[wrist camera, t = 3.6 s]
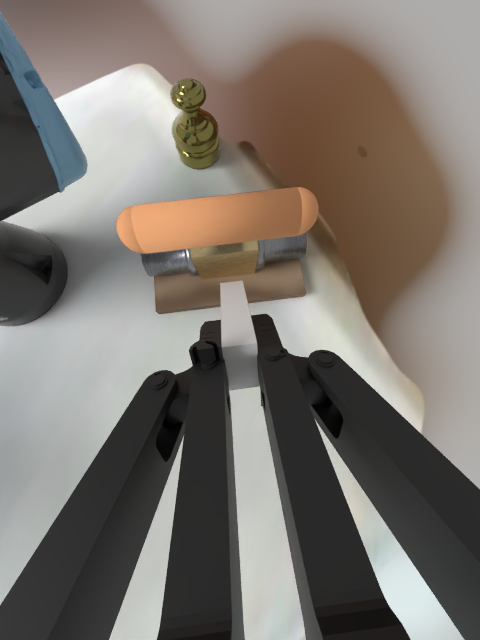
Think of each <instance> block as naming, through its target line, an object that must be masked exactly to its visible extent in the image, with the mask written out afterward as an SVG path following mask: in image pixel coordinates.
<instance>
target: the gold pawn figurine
mask: <svg viewBox="0 0 480 640" xmlns="http://www.w3.org/2000/svg"><path fill="white" fill-rule="evenodd" d="M170 96H171V100H172V102H173V104H174V105H175V106H176V107H177V108H179V109H181V110H182V111H181V113H180V114H179V115H178V116H177V117H176V118H175V120H174V121H173V124H172V135H173V138H174V140H175V144H176V148H177V150H178V154H179V157H180V159H181V161H182V162H183V163H184V164H185V165H187V166H189V167H191V168H196V169H201V168H206V167H208V166H210V165H212V164H213V163H214V162H215V161H216V160H217V159H218V157H219V154H220V145H219V142H220V140H219V135H218V123H217V121H216V119H215V117H214V116H213V115H211V113H209V112H208V111H205V110H203V109H202V108H200V106H202V104H203V103H204V102H205V100H206V90H205V87H204V86H203V84H202V83H201V82H199V81H197V80H195V79H189V78H186V79H182V80H180V81H178V82H177V83H175V84H174V85H173V87H172V88H171V91H170Z"/></svg>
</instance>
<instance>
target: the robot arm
mask: <svg viewBox="0 0 480 640" xmlns="http://www.w3.org/2000/svg"><path fill="white" fill-rule="evenodd" d="M86 171H87V159H86V156H85V154H84V152H83V150H82V148H81V147H80V145H79V143H78V141H77V139H76V138H75V136H74V134H73V132H72V131H71V129H70V127H69V125H68V124H67V122H66V120H65V118H64V117H63V115H62V113H61V111H60V110H59V108H58V106H57V105H56V103H55V101H54V100H53V98H52V96H51V95H50V93H49V91H48V90H47V88H46V87H45V85H44V84H43V82H42V80H41V78H40V76H39V74H38V73H37V71H36V70H35V68H34V66H33V65H32V63H31V61H30V59H29V57H28V56H27V54H26V52H25V50H24V49H23V47H22V45H21V44H20V42H19V40H18V39H17V37H16V36H15V34H14V32H13V30H12V29H11V27H10V26H9V24H8V22H7V21H6V19H5V18H4V16H3V14H2V13H1V11H0V326H16V325H21V324H25V323H28V322H30V321H33V320H35V319H36V318H38V317H40V316H41V315H43V314H44V313H45V312H47V311H48V310H49V309H50V308H51V307H52V306H53V305H54V304H55V302H56V301H57V300H58V298H59V297H60V295H61V293H62V291H63V289H64V286H65V283H66V278H67V265H66V261H65V258H64V255H63V253H62V252H61V250H60V249H59V248H58V247H57V246H56V245H55V244H54V243H53V242H52V241H50V240H48V239H47V238H45V237H44V236H42V235H41V234H39V233H37V232H35V231H33V230H30V229H27V228H24V227H21V226H17V225H14V224H11V223H7V222H4V221H2V220H4V219H6V218H8V217H10V216H12V215H14V214H16V213H18V212H20V211H22V210H24V209H26V208H28V207H30V206H32V205H34V204H36V203H38V202H40V201H42V200H44V199H45V198H47V197H49V196H51V195H53V194H55V193H57V192H60V193H61V192H63V191H64V189H65V187H67V186H68V185H70V184H72V183H73V182H75V181H77V180H78V179H80V178H82V177H83V176H84V175H85V173H86ZM220 296H221V320H216V321H207V322H205V323H204V324H203V325H202V327H201V330H200V340H199V341H198V342H196V343H194V344H193V345H192V346H191V347H190V349H189V353H190V357H191V360H192V364H193V366H192V367H191V368H190V369H188V370H186V371H184V372H182V373H179V374H176V375H175V374H174V373H172V372H171V371H168V370H162V371H158V372H155V373H153V374H152V375H150V376H149V377H148V378H147V379H146V380H145V381H144V382H143V384H142V386H141V387H140V389H139V390H138V392H137V393H136V395H135V396H134V398H133V400H132V401H131V403H130V404H129V406H128V407H127V409H126V410H125V412H124V414H123V415H122V417H121V418H120V420H119V421H118V423H117V424H116V426H115V428H114V429H113V431H112V432H111V434H110V435H109V437H108V439H107V440H106V442H105V443H104V445H103V446H102V448H101V449H100V451H99V453H98V454H97V456H96V457H95V459H94V460H93V462H92V463H91V465H90V467H89V468H88V470H87V471H86V473H85V474H84V476H83V477H82V479H81V481H80V482H79V484H78V485H77V487H76V488H75V490H74V492H73V493H72V495H71V496H70V498H69V499H68V501H67V502H66V504H65V506H64V507H63V509H62V510H61V512H60V513H59V515H58V516H57V518H56V520H55V521H54V523H53V524H52V526H51V527H50V529H49V531H48V532H47V534H46V535H45V537H44V538H43V540H42V541H41V543H40V545H39V546H38V548H37V549H36V551H35V552H34V554H33V555H32V557H31V559H30V560H29V562H28V563H27V565H26V566H25V568H24V569H23V571H22V573H21V574H20V576H19V577H18V579H17V580H16V582H15V584H14V585H13V587H12V588H11V590H10V591H9V593H8V594H7V596H6V598H5V599H4V601H3V602H2V604H1V605H0V640H109V638H110V635H111V632H112V630H113V627H114V624H115V621H116V619H117V616H118V613H119V611H120V608H121V605H122V602H123V600H124V597H125V594H126V591H127V589H128V586H129V583H130V580H131V578H132V575H133V572H134V570H135V567H136V564H137V561H138V559H139V556H140V553H141V550H142V548H143V545H144V542H145V539H146V537H147V534H148V531H149V529H150V526H151V523H152V520H153V518H154V515H155V512H156V509H157V507H158V504H159V501H160V498H161V496H162V493H163V490H164V488H165V485H166V482H167V479H168V477H169V474H170V471H171V468H172V466H173V463H174V460H175V458H176V455H177V452H178V449H179V447H180V444H181V441H182V438H183V436H184V441H183V449H182V457H181V464H180V472H179V480H178V488H177V496H176V504H175V512H174V520H173V528H172V536H171V544H170V552H169V560H168V568H167V576H166V584H165V592H164V600H163V607H162V615H161V622H160V629H159V633H158V637H157V640H245V638H244V625H243V609H242V592H241V574H240V557H239V540H238V523H237V506H236V489H235V471H234V454H233V437H232V420H231V403H230V395H229V390H235V389H243V388H251V387H259V386H260V388H261V406H263V409H264V415H265V420H266V425H267V431H268V436H269V441H270V446H271V452H272V457H273V462H274V467H275V473H276V478H277V483H278V488H279V494H280V499H281V504H282V510H283V515H284V520H285V525H286V531H287V536H288V541H289V546H290V552H291V557H292V562H293V568H294V573H295V578H296V583H297V589H298V594H299V599H300V604H301V610H302V615H303V621H304V627H305V635H306V640H410V638H409V636H408V634H407V632H406V630H405V629H404V627H403V625H402V623H401V622H400V621H399V619H398V618H397V617H396V615H395V614H394V613H393V611H392V610H391V608H390V607H389V605H388V603H387V601H386V600H385V598H384V595H383V593H382V591H381V588H380V586H379V583H378V581H377V578H376V576H375V573H374V571H373V568H372V565H371V563H370V560H369V558H368V555H367V553H366V550H365V547H364V545H363V542H362V540H361V537H360V535H359V532H358V529H357V527H356V524H355V522H354V519H353V517H352V514H351V512H350V509H349V506H348V504H347V501H346V499H345V496H344V494H343V491H342V488H341V486H340V483H339V481H338V478H337V476H336V473H335V470H334V468H333V465H332V463H331V460H330V458H329V455H328V452H327V450H326V447H325V445H324V442H323V440H322V437H321V435H320V432H319V429H318V427H317V424H316V422H315V420H316V421H317V423H318V424H319V426H320V427H321V429H322V430H323V432H324V433H325V435H326V436H327V437H328V439H329V440H330V442H331V443H332V445H333V446H334V448H335V449H336V451H337V452H338V454H339V455H340V457H341V458H342V460H343V461H344V463H345V464H346V465H347V467H348V468H349V470H350V471H351V473H352V474H353V476H354V477H355V479H356V480H357V482H358V483H359V485H360V486H361V488H362V489H363V491H364V492H365V493H366V495H367V496H368V498H369V499H370V501H371V502H372V504H373V505H374V507H375V508H376V510H377V511H378V513H379V514H380V516H381V517H382V519H383V520H384V521H385V523H386V524H387V526H388V527H389V529H390V530H391V532H392V533H393V535H394V536H395V538H396V539H397V541H398V542H399V544H400V545H401V547H402V548H403V549H404V551H405V552H406V554H407V555H408V557H409V558H410V560H411V561H412V563H413V564H414V566H415V567H416V569H417V570H418V571H419V573H420V575H421V576H422V578H423V579H424V580H425V582H426V583H427V585H428V586H429V588H430V589H431V591H432V592H433V594H434V595H435V597H436V598H437V599H438V601H439V603H440V604H441V605H442V607H443V608H444V610H445V611H446V613H447V614H448V616H449V617H450V618H451V620H452V622H453V623H454V625H455V626H456V628H457V629H458V630H459V632H460V634H461V635H462V636H463V638H464V639H465V640H480V489H478V487H476V486H475V485H474V484H473V483H472V482H471V481H470V480H469V479H468V478H467V477H466V476H465V475H464V474H463V473H462V472H461V471H460V470H459V469H458V468H456V467H455V466H454V465H453V464H452V463H451V462H450V461H449V460H448V459H447V458H446V457H445V456H443V454H442V453H441V452H440V451H438V450H437V449H436V448H435V447H434V446H433V445H432V444H431V443H430V442H429V441H428V440H427V439H426V438H424V436H423V435H422V434H421V433H419V432H418V431H417V430H416V429H415V428H414V427H413V426H412V425H411V424H410V423H409V422H408V421H407V420H406V419H405V418H404V417H403V416H402V415H400V414H399V413H398V412H397V411H396V410H395V409H394V408H393V407H392V406H391V405H390V404H389V403H388V402H387V401H386V400H385V399H384V398H383V397H381V396H380V395H379V394H378V393H377V392H376V391H375V390H374V389H373V388H372V387H371V386H370V385H369V384H368V383H367V382H366V381H365V380H364V379H362V378H361V377H360V376H359V375H358V374H357V373H356V372H355V371H354V370H353V369H352V368H351V367H350V366H349V365H348V364H347V363H346V362H344V361H343V360H342V359H341V358H340V357H339V356H338V355H336V354H335V353H333V352H330V351H327V350H318V351H314V352H312V353H311V354H310V356H309V358H307V357H299V356H294V355H292V354H289V353H288V351H287V350H286V349H285V348H283V346H282V344H281V341H280V338H279V336H278V333H277V330H276V327H275V325H274V322H273V319H272V318H271V317H270V316H269V315H267V314H261V315H252V316H251V315H250V310H249V306H248V302H247V297H246V293H245V289H244V284H243V281H234V282H226V283H220ZM314 418H315V419H314Z"/></svg>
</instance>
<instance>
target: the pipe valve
mask: <svg viewBox="0 0 480 640" xmlns="http://www.w3.org/2000/svg"><path fill="white" fill-rule="evenodd" d="M305 252H306V233H304V234H302V235H298V236H292V237H284V238H275V239H267V240H258V241H250V242H241V243H233V244H224V245H216V246H207V247H199V248H190V249H182V250H173V251H165V252H156V253H145V254H142V253H141V256H142V262H143V265H144V268H145V270H146V272H147V274H148V275H149V276H154V283H155V302H156V312H157V313H159V314H164V313H172V312H180V311H188V310H196V309H204V308H212V307H220V306H221V296H220V283H226V282H234V281H243V284H244V289H245V293H246V297H247V302H248V303H253V302H261V301H269V300H277V299H285V298H294V297H302V296H304V295H305V294H306V291H305V286H304V280H303V275H302V270H301V265H300V260H299V258H303V257H304V255H305Z"/></svg>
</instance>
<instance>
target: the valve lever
mask: <svg viewBox="0 0 480 640" xmlns="http://www.w3.org/2000/svg"><path fill="white" fill-rule="evenodd" d="M317 216H318V203H317V200H316V198H315V196H314V195H313V193H311V192H310V191H309V190H307V189H305V188H302V187H293V188H284V189H275V190H266V191H257V192H248V193H239V194H231V195H222V196H213V197H204V198H195V199H186V200H177V201H168V202H160V203H151V204H142V205H134V206H130V207H128V208H126V209H124V210H123V211H122V212H121V213H120V215H119V217H118V219H117V233H118V236H119V238H120V239H121V241H122V242H123V244H124V245H125V246H126V247H128V248H129V249H131V250H132V251H135V252H137V253H142V254H145V253H156V252H165V251H173V250H182V249H190V248H199V247H207V246H216V245H224V244H233V243H241V242H250V241H258V240H267V239H275V238H284V237H292V236H298V235H302V234H304V233H305V232H307V231H308V230H309V229H310V228H311V227H312V226H313V225H314V223H315V221H316V219H317Z"/></svg>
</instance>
